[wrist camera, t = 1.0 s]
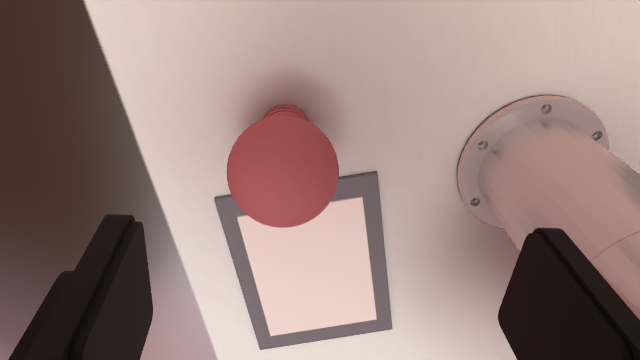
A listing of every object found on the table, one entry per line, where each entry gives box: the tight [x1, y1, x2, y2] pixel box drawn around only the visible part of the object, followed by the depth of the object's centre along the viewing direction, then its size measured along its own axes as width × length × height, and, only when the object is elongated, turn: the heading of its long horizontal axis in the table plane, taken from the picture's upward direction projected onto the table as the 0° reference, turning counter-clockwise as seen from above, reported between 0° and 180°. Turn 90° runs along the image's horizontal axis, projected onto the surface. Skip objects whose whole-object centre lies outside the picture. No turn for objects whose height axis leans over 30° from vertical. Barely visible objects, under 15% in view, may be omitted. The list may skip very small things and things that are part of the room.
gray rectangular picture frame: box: [214, 171, 392, 350], centre depth 46 cm, size 19×14×1 cm
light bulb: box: [227, 105, 339, 228], centre depth 33 cm, size 7×7×12 cm
